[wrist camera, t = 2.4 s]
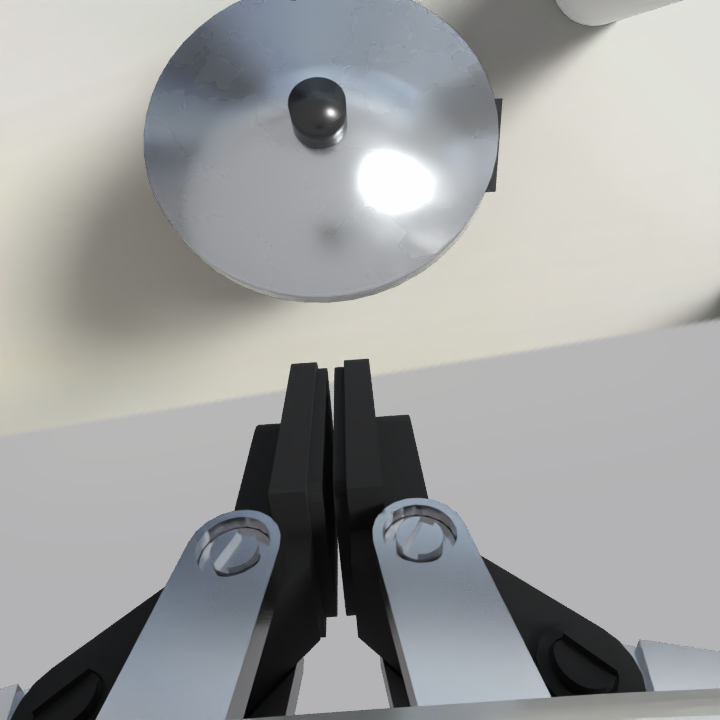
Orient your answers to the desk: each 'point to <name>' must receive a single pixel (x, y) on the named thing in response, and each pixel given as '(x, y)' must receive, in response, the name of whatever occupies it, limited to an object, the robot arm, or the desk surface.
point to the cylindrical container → (607, 9)
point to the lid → (321, 144)
